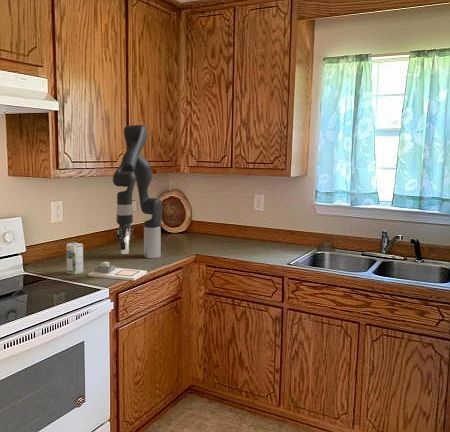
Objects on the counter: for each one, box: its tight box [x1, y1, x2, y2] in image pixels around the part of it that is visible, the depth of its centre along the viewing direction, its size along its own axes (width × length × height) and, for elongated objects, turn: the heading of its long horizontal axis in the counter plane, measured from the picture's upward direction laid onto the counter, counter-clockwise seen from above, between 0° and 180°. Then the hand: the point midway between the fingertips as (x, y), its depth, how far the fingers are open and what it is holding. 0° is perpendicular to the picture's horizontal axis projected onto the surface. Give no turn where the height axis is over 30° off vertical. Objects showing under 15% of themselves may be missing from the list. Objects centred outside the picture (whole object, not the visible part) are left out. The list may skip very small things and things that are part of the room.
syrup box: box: [66, 242, 84, 275], centre depth 228 cm, size 6×6×14 cm
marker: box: [120, 232, 130, 255], centre depth 226 cm, size 4×4×10 cm
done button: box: [99, 261, 110, 268], centre depth 229 cm, size 4×4×3 cm
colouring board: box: [87, 264, 148, 282], centre depth 227 cm, size 14×24×3 cm, turn 74°
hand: (124, 248), depth 227 cm, fingers closed on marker, 3 cm apart
